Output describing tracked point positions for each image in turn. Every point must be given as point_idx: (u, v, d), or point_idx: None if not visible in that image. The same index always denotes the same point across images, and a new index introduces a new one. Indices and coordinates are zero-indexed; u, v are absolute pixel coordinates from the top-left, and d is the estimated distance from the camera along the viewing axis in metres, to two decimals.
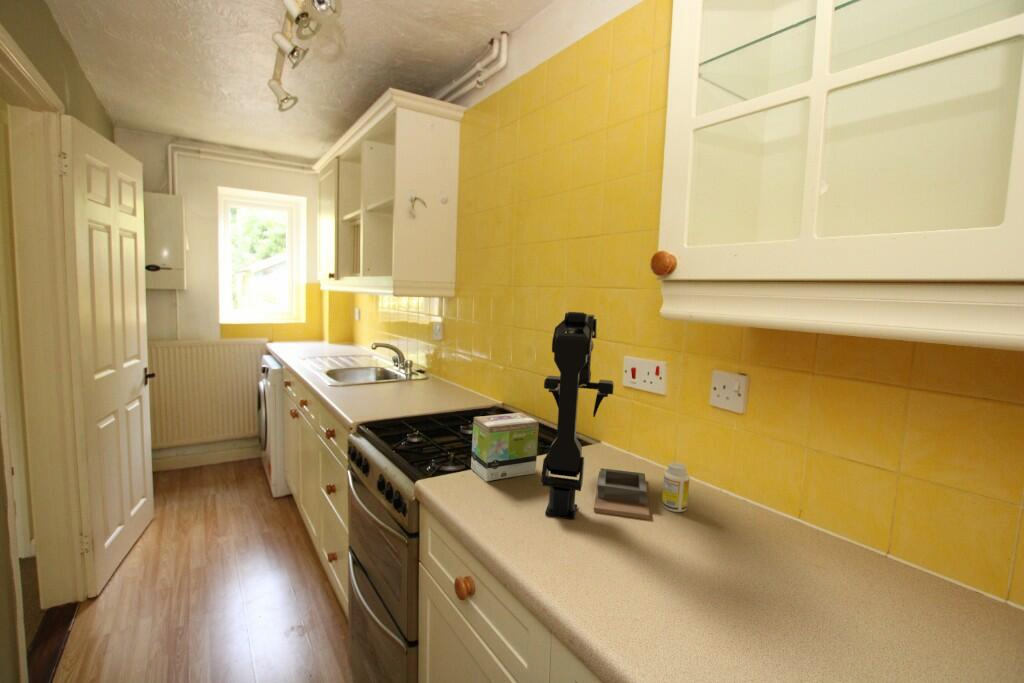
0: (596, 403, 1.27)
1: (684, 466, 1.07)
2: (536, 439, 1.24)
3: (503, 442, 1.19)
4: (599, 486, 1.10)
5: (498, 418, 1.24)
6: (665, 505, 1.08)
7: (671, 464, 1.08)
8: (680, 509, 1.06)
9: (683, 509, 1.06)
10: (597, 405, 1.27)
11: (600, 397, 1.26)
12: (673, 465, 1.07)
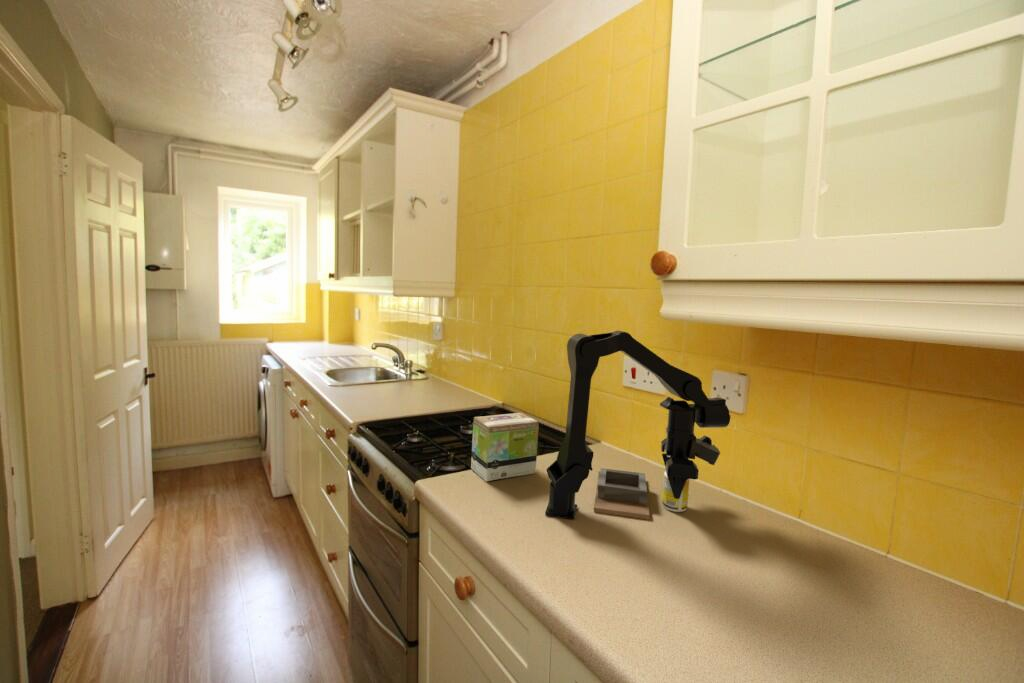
0: None
1: None
2: (536, 439, 1.24)
3: (503, 442, 1.19)
4: (599, 486, 1.10)
5: (498, 418, 1.24)
6: (665, 505, 1.08)
7: None
8: (680, 509, 1.06)
9: (683, 509, 1.06)
10: None
11: None
12: None
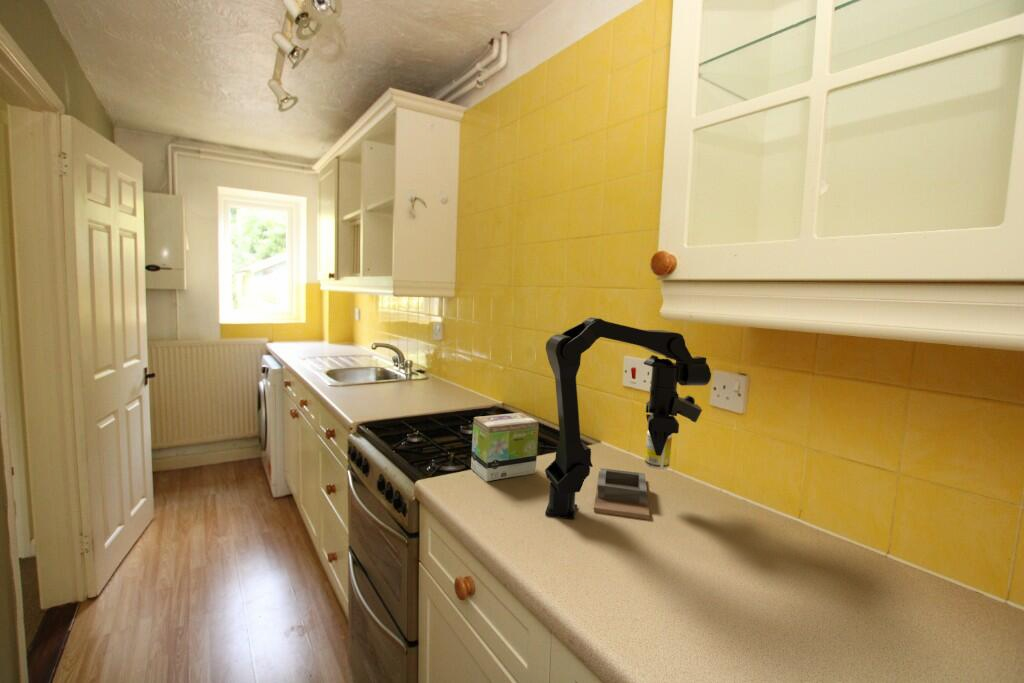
0: None
1: None
2: (536, 439, 1.24)
3: (503, 442, 1.19)
4: (599, 486, 1.10)
5: (498, 418, 1.24)
6: (647, 463, 1.08)
7: None
8: (662, 467, 1.07)
9: (665, 466, 1.07)
10: (651, 439, 1.06)
11: (648, 429, 1.05)
12: None
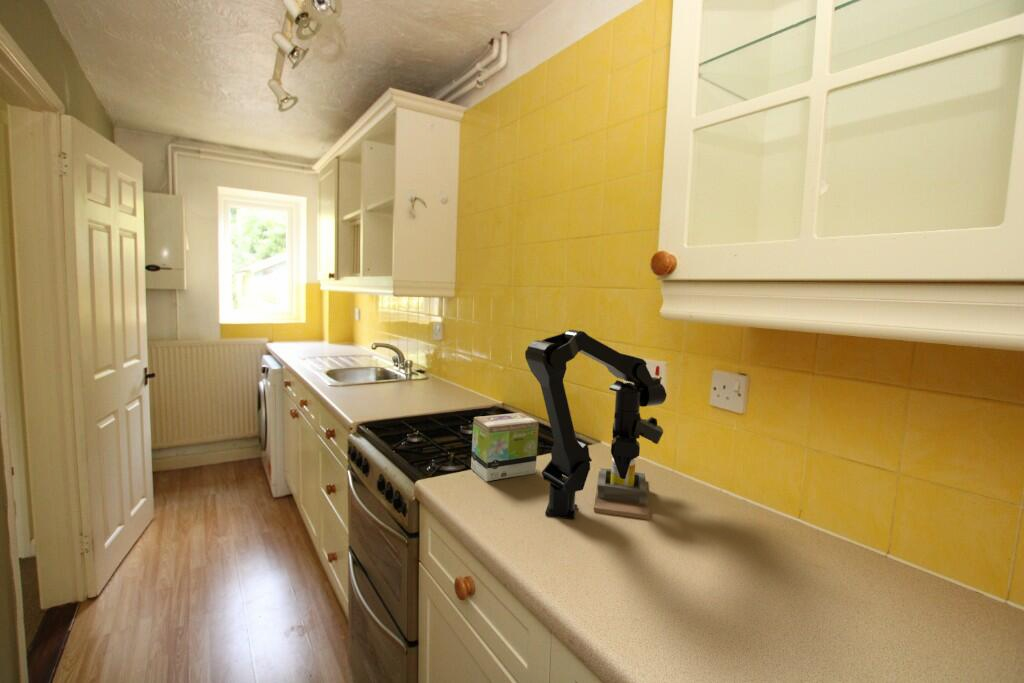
0: None
1: None
2: (536, 439, 1.24)
3: (503, 442, 1.19)
4: (599, 486, 1.10)
5: (498, 418, 1.24)
6: None
7: None
8: None
9: None
10: (615, 463, 1.08)
11: (612, 454, 1.08)
12: None
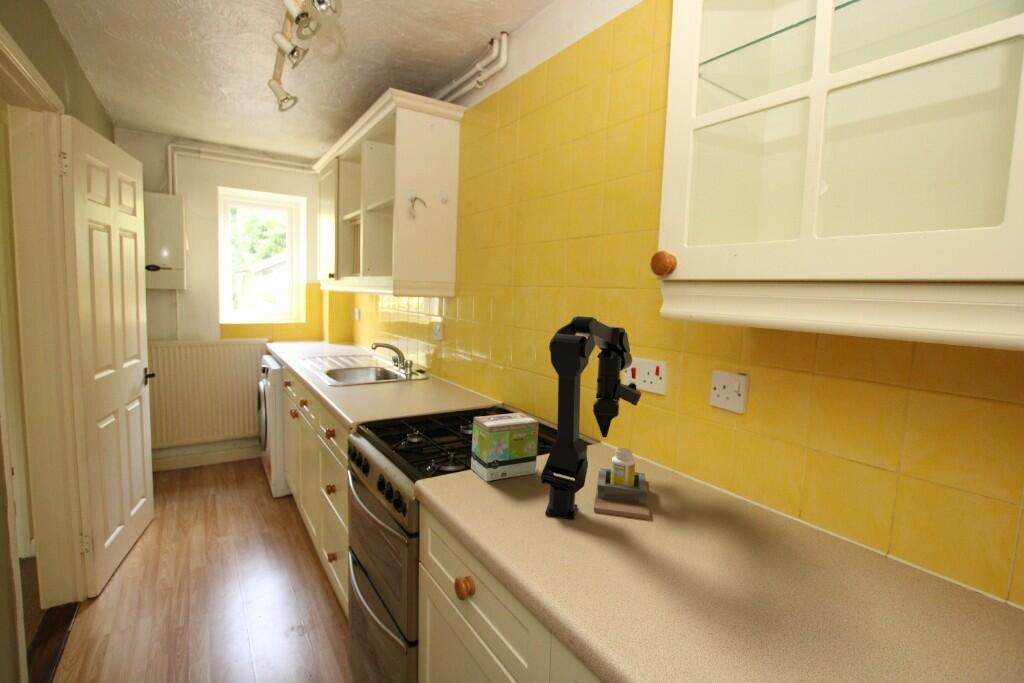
0: None
1: (630, 451, 1.12)
2: (536, 439, 1.24)
3: (503, 442, 1.19)
4: (599, 486, 1.10)
5: (498, 418, 1.24)
6: None
7: (618, 450, 1.13)
8: None
9: None
10: None
11: (594, 414, 1.19)
12: (619, 451, 1.13)
